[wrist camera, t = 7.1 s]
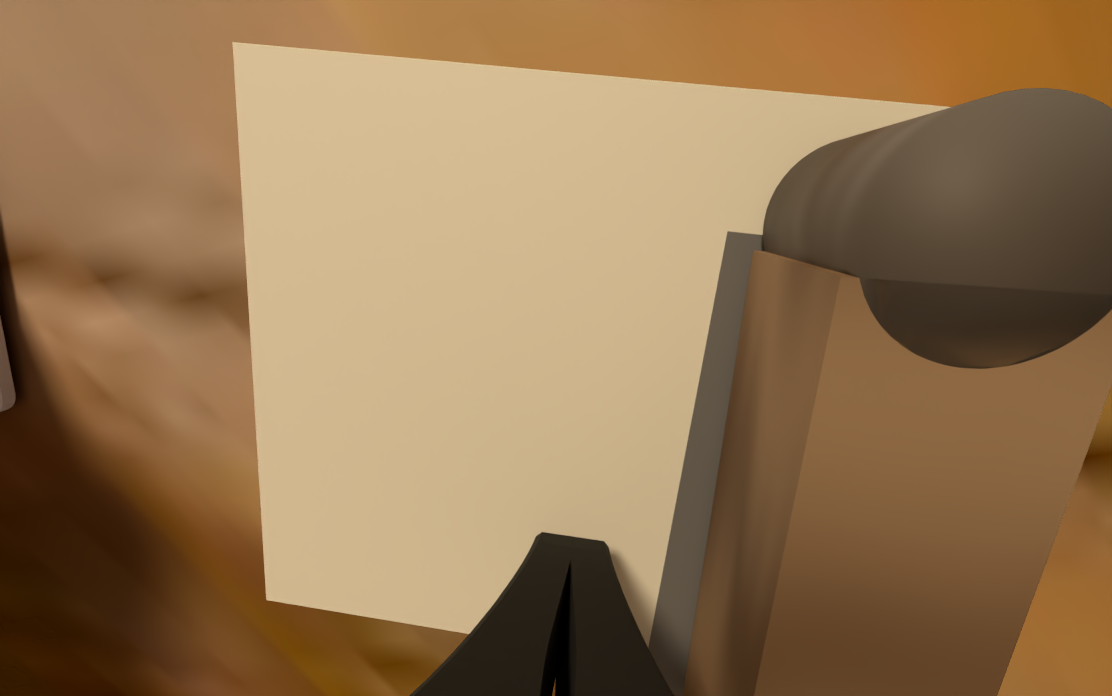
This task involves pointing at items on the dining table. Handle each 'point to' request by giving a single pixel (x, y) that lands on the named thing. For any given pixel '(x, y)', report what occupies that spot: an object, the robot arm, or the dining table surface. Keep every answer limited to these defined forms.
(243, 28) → the dining table surface
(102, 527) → the dining table surface
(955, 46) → the dining table surface
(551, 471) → the stool seat
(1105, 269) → the stool leg
